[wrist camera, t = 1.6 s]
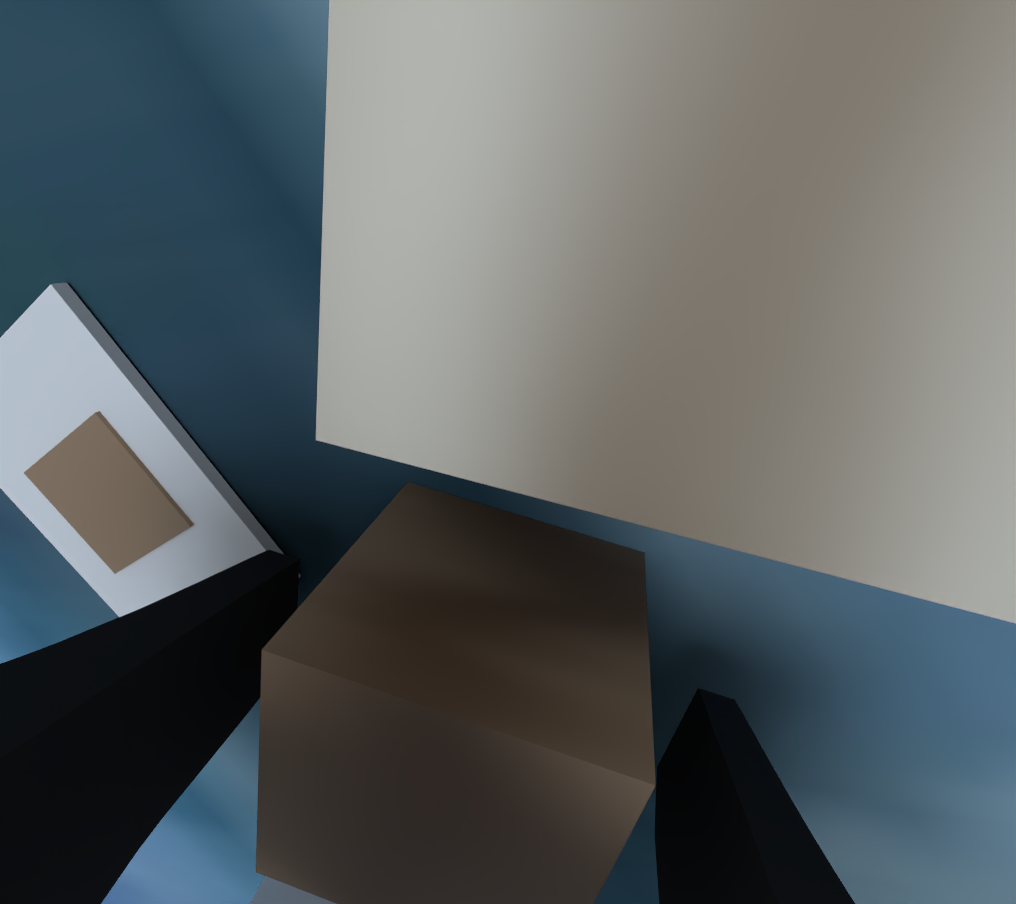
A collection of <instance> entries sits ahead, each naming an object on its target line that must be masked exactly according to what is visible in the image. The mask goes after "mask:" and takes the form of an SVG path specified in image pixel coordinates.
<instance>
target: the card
mask: <svg viewBox="0 0 1016 904" xmlns="http://www.w3.org/2000/svg"><path fill="white" fill-rule="evenodd" d="M0 488H1V489H2V490H3V491H4V492H5V494H6V495H7V496H8V497H9V498H10V499H11V500H12V501H13V502H14V503H15V504H16V505H17V507H18V508H19V509H20V510H21V511H22V512H23V513H24V514H25V515H26V516H27V517H28V518H29V520H30V521H31V522H32V523H33V524H34V525H35V526H36V527H37V528H38V529H39V530H40V532H41V533H42V534H43V535H44V536H45V537H46V538H47V539H48V540H49V541H50V542H51V543H52V545H53V546H54V547H55V548H56V549H57V550H58V551H59V552H60V553H61V554H62V555H63V556H64V558H65V559H66V560H67V561H68V562H69V563H70V564H71V565H72V566H73V567H74V568H75V569H76V571H77V572H78V573H79V574H80V575H81V576H82V577H83V578H84V579H85V580H86V581H87V582H88V584H89V585H90V586H91V587H92V588H93V589H94V590H95V591H96V592H97V593H98V594H99V596H100V597H101V598H102V599H103V600H104V601H105V602H106V603H107V604H108V605H109V606H110V607H111V609H112V610H113V611H114V612H115V613H116V614H117V615H118V616H119V617H121V616H124V615H126V614H129V613H131V612H133V611H136V610H138V609H140V608H143V607H145V606H147V605H149V604H151V603H154V602H156V601H158V600H160V599H162V598H165V597H167V596H169V595H171V594H173V593H176V592H178V591H180V590H182V589H184V588H187V587H189V586H191V585H193V584H195V583H198V582H200V581H202V580H204V579H206V578H208V577H210V576H212V575H215V574H217V573H219V572H221V571H223V570H225V569H227V568H229V567H232V566H234V565H236V564H238V563H240V562H242V561H244V560H247V559H249V558H251V557H253V556H255V555H258V554H260V553H262V552H265V551H267V550H272V551H275V552H278V553H281V554H283V552H282V551H281V550H280V549H279V547H278V546H277V545H276V544H275V542H274V541H273V540H272V539H271V537H270V536H269V535H268V534H267V532H266V531H265V530H264V529H263V527H262V526H261V525H260V524H259V522H258V521H257V520H256V519H255V517H254V516H253V515H252V514H251V512H250V511H249V510H248V509H247V507H246V506H245V505H244V504H243V502H242V501H241V500H240V499H239V497H238V496H237V495H236V494H235V492H234V491H233V490H232V489H231V487H230V486H229V485H228V484H227V482H226V481H225V480H224V479H223V477H222V476H221V475H220V474H219V472H218V471H217V470H216V469H215V467H214V466H213V465H212V464H211V462H210V461H209V460H208V459H207V457H206V456H205V455H204V454H203V452H202V451H201V450H200V449H199V447H198V446H197V445H196V444H195V442H194V441H193V440H192V439H191V437H190V436H189V435H188V434H187V432H186V431H185V430H184V429H183V427H182V426H181V425H180V424H179V422H178V421H177V420H176V419H175V417H174V416H173V415H172V414H171V412H170V411H169V410H168V409H167V407H166V406H165V405H164V404H163V402H162V401H161V400H160V399H159V397H158V396H157V395H156V394H155V392H154V391H153V390H152V389H151V387H150V386H149V385H148V384H147V382H146V381H145V380H144V379H143V377H142V376H141V375H140V374H139V372H138V371H137V370H136V369H135V367H134V366H133V365H132V364H131V362H130V361H129V360H128V359H127V357H126V356H125V355H124V354H123V352H122V351H121V350H120V349H119V347H118V346H117V345H116V344H115V342H114V341H113V340H112V339H111V337H110V336H109V335H108V334H107V332H106V331H105V330H104V329H103V327H102V326H101V325H100V324H99V322H98V321H97V320H96V319H95V317H94V316H93V315H92V314H91V312H90V311H89V310H88V309H87V307H86V306H85V305H84V304H83V302H82V301H81V300H80V299H79V297H78V296H77V295H76V294H75V292H74V291H73V290H72V289H71V287H70V286H69V285H68V284H67V283H59V284H51V285H50V286H49V287H48V288H47V289H46V290H45V291H44V292H43V293H42V294H41V295H40V296H39V297H38V298H37V300H36V301H35V302H34V303H33V304H32V305H31V306H30V307H29V308H28V309H27V310H26V311H25V312H24V313H23V314H22V315H21V317H20V318H19V319H18V320H17V321H16V322H15V323H14V324H13V325H12V326H11V327H10V328H9V329H8V330H7V331H6V332H5V334H4V335H3V336H2V337H1V338H0ZM300 576H301V575H300V574H299V577H300Z"/></svg>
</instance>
